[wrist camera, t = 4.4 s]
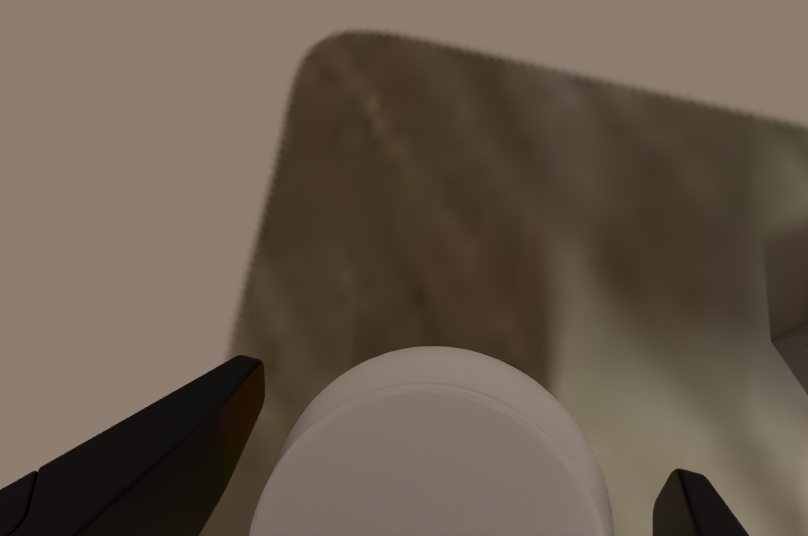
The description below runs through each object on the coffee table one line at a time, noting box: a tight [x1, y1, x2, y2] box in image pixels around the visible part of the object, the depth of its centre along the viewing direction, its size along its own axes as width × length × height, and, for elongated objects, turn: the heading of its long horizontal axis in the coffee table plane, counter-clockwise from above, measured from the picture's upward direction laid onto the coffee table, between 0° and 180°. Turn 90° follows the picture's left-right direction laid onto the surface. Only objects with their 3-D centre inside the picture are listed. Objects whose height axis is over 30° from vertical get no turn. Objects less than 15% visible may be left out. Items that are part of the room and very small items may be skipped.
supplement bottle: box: [249, 346, 614, 536], centre depth 11 cm, size 5×5×10 cm
